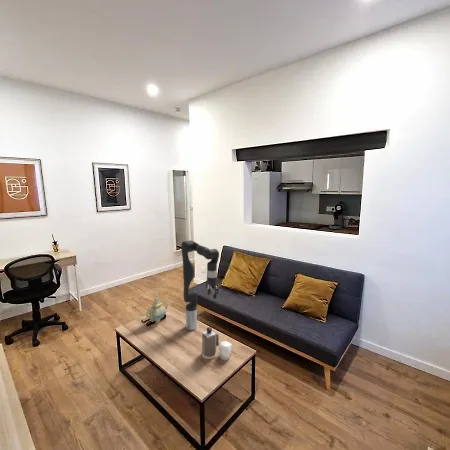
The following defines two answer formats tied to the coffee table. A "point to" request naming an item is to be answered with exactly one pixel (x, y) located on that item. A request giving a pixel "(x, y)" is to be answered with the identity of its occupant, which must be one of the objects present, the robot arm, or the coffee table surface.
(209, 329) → the plunger
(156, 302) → the teapot
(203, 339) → the carafe
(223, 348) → the mug
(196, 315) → the robot arm
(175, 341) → the coffee table surface
